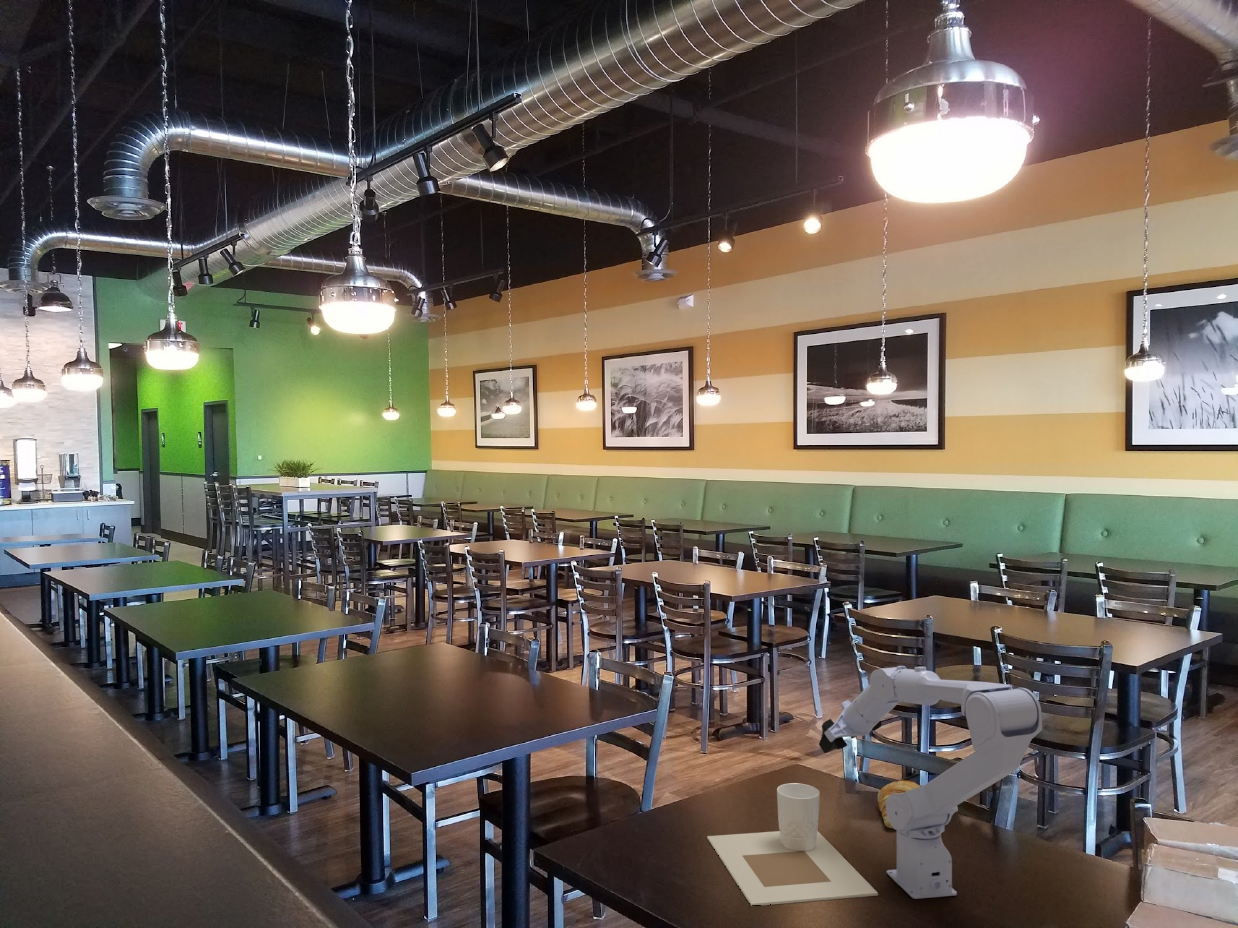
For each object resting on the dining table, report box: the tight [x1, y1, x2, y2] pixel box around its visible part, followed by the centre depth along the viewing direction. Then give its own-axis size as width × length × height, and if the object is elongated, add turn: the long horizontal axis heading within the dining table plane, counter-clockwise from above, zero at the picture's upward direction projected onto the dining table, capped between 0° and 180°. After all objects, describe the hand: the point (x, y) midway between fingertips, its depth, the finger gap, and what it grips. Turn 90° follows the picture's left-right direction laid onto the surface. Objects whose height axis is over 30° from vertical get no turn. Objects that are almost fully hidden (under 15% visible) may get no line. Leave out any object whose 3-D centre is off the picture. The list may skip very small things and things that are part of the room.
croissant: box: [877, 780, 922, 829], centre depth 175 cm, size 21×10×8 cm, turn 148°
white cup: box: [776, 782, 821, 851], centre depth 160 cm, size 8×8×10 cm
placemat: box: [706, 830, 879, 907], centre depth 152 cm, size 26×22×1 cm
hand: (836, 740), depth 168 cm, fingers open, 7 cm apart
